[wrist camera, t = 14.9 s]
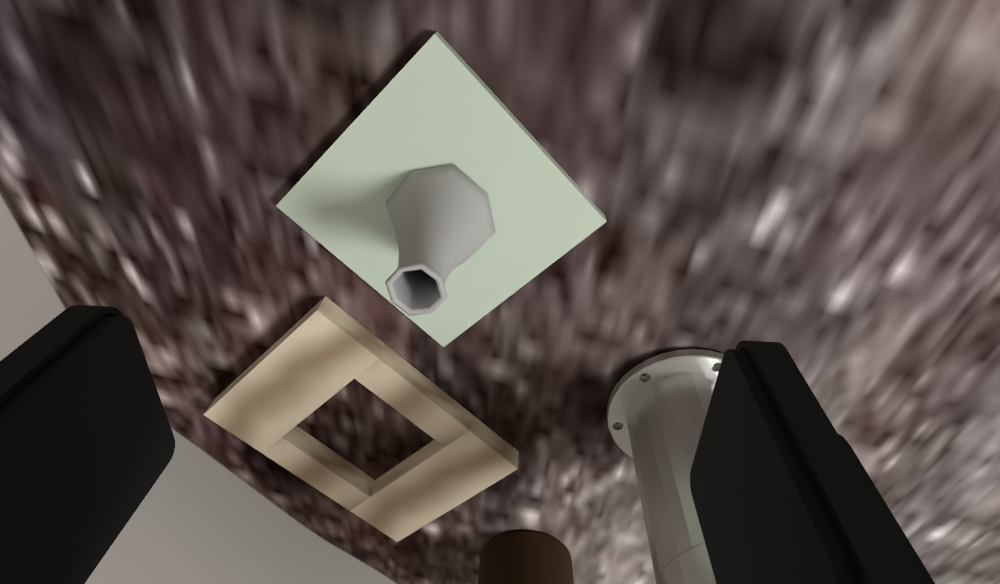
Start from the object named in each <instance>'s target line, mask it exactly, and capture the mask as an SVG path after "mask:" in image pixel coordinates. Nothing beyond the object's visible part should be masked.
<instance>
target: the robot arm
mask: <svg viewBox="0 0 1000 584" xmlns="http://www.w3.org/2000/svg"><path fill="white" fill-rule="evenodd" d="M607 422H608V428H609V431H610V433H611V436H612V438H613V440H614V441H615V443H616V444H617V446H618V447H619V448H620V449H621V450H622V451H623V452H624V453H625V454H627V455H628V456H629V457H631V458H633V460H634V465H635V471H636V476H637V482H638V487H639V492H640V498H641V503H642V509H643V514H644V520H645V525H646V531H647V536H648V542H649V547H650V552H651V558H652V563H653V569H654V573H655V580H656V584H935V583H934V581H933V580H932V578H931V576H930V575H929V573H928V571H927V570H926V568H925V567H924V565H923V563H922V562H921V560H920V558H919V557H918V555H917V554H916V552H915V550H914V549H913V547H912V545H911V544H910V542H909V541H908V539H907V537H906V536H905V534H904V532H903V531H902V529H901V527H900V526H899V524H898V523H897V521H896V519H895V518H894V516H893V514H892V513H891V511H890V510H889V508H888V506H887V505H886V503H885V501H884V500H883V498H882V497H881V495H880V493H879V492H878V490H877V488H876V487H875V485H874V484H873V482H872V480H871V479H870V477H869V475H868V474H867V472H866V471H865V469H864V467H863V466H862V464H861V462H860V461H859V459H858V458H857V456H856V454H855V453H854V451H853V449H852V448H851V446H850V445H849V444H848V442H847V441H846V440H845V439H844V437H843V436H841V435H839V434H837V432H836V430H835V429H834V427H833V426H832V424H831V422H830V421H829V419H828V417H827V416H826V414H825V412H824V411H823V409H822V407H821V406H820V404H819V402H818V401H817V399H816V397H815V396H814V394H813V392H812V391H811V389H810V387H809V386H808V384H807V382H806V381H805V379H804V377H803V376H802V374H801V373H800V371H799V369H798V368H797V366H796V364H795V363H794V361H793V359H792V358H791V356H790V354H789V353H788V351H787V349H786V348H785V347H784V345H783V344H781V343H778V342H761V341H741V342H739V343H738V345H737V346H736V349H735V350H734V349H728V350H726V351H725V353H724V354H723V353H719V352H714V351H710V350H701V349H685V350H675V351H671V352H666V353H662V354H659V355H657V356H654V357H652V358H649V359H647V360H645V361H643V362H641V363H640V364H638V365H636V366H634V367H633V368H632V369H631V370H630V371H628V372H627V373H626V374H625V375H624V376H623V377H622V378H621V379H620V380H619V382H618V383H617V384H616V385H615V387H614V389H613V391H612V393H611V394H610V397H609V401H608V404H607ZM174 448H175V439H174V436H173V433H172V430H171V427H170V425H169V422H168V419H167V416H166V414H165V411H164V408H163V405H162V403H161V400H160V397H159V394H158V392H157V389H156V386H155V383H154V381H153V378H152V375H151V373H150V370H149V367H148V364H147V362H146V359H145V356H144V353H143V351H142V348H141V345H140V342H139V340H138V337H137V334H136V331H135V329H134V326H133V324H132V322H131V320H129V319H128V318H127V317H124V316H123V314H122V313H121V312H120V311H119V310H118V309H117V308H114V307H107V306H88V305H75V306H71V307H69V308H67V309H66V310H64V311H63V312H62V313H61V314H59V315H58V316H57V317H56V318H54V319H53V320H52V321H51V322H49V323H48V324H47V325H46V326H44V327H43V328H42V329H41V330H39V331H38V332H37V333H35V334H34V335H33V336H32V337H30V338H29V339H28V340H27V341H25V342H24V343H23V344H22V345H20V346H19V347H18V348H17V349H15V350H14V351H13V352H11V353H10V354H9V355H8V356H7V357H5V358H4V359H3V360H1V361H0V584H84V583H85V582H86V580H87V579H88V577H89V576H90V575H91V573H92V572H93V571H94V569H95V568H96V566H97V565H98V563H99V562H100V561H101V559H102V558H103V556H104V555H105V553H106V552H107V551H108V549H109V548H110V546H111V545H112V543H113V542H114V540H115V539H116V538H117V536H118V535H119V533H120V532H121V531H122V529H123V528H124V526H125V525H126V523H127V522H128V521H129V519H130V518H131V516H132V515H133V513H134V512H135V511H136V509H137V508H138V506H139V505H140V503H141V502H142V500H143V499H144V497H145V496H146V495H147V493H148V492H149V490H150V489H151V488H152V486H153V485H154V483H155V482H156V480H157V479H158V477H159V476H160V475H161V473H162V472H163V470H164V469H165V468H166V466H167V464H168V463H169V461H170V460H171V458H172V456H173V453H174Z"/></svg>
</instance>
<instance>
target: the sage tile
mask: <svg viewBox="0 0 1000 584" xmlns="http://www.w3.org/2000/svg"><path fill="white" fill-rule="evenodd" d="M454 164H455V165H456V166H457V167H458V168H459V169H460V170H461V171H463V172H464V173H465V174H466V175H467V176H468V177H469V178H471V179H472V180H473V181H474V182H475V183H476V184H477V185H479V186H480V187H481V188H482V189H483V190H484V191H485V192H487V193H488V198H489V203H490V207H491V212H492V217H493V221H494V226H495V231H496V232H495V233H494V234H493V235H492V236H491V237H490V238H489V239H488V240H487V241H486V242H485V243H484V244H483V245H482V246H481V247H480V248H479V249H478V250H477V251H476V252H475V253H474V254H473V255H472V256H471V257H470V258H469V259H468V260H466V261H465V262H464V263H462V264H461V265H459V266H458V267H456V268H455V269H453V270H452V271H451V273H450V274H449V276H448V277H447V279H446V282H445V289H446V293H447V299H446V300H445V301H444V302H443V303H442V304H441V305H440V306H439V307H438V308H437V309H436V310H435V311H434V312H433V313H429V314H421V315H413V316H409V315H408V314H407V313H405V312H404V311H403V310H401V309H400V308H399V307H397V306H396V305H395V304H393V303H392V302H391V299H390V296H389V293H388V290H387V287H386V284H385V282H386V280H387V279H388V278H389V277H390V276H391V275H392V274H393V272H394V271H395V270H396V269H397V267H398V258H399V248H398V244H397V240H396V236H395V231H394V227H393V224H392V221H391V218H390V214H389V211H388V208H387V204H386V200H387V199H388V198H389V197H390V196H391V195H392V194H393V192H394V191H395V190H396V189H397V188H398V187H399V186H400V184H401V183H402V182H403V181H404V180H405V179H406V178H407V177H408V175H409V174H410V173H411V172H412V171H418V170H424V169H430V168H436V167H442V166H448V165H454ZM276 206H277V207H278V208H279V209H280V210H281V211H283V212H284V213H285V214H286V215H287V216H288V217H290V218H291V219H292V220H293V221H294V222H296V223H297V224H298V225H299V226H300V227H302V228H303V229H304V230H305V231H306V232H307V233H309V234H310V235H311V236H312V237H313V238H315V239H316V240H317V241H318V242H319V243H320V244H322V245H323V246H324V247H325V248H326V249H328V250H329V251H330V252H331V253H332V254H334V255H335V256H336V257H337V258H338V259H339V260H341V261H342V262H343V263H344V264H345V265H347V266H348V267H349V268H350V269H351V270H353V271H354V272H355V273H356V274H357V275H358V276H360V277H361V278H362V279H363V280H364V281H366V282H367V283H368V284H369V285H370V286H372V287H373V288H374V289H375V290H376V291H377V292H379V293H380V294H381V295H382V296H383V297H385V298H386V299H387V300H388V301H389V302H391V303H392V304H393V305H394V306H395V307H396V308H398V309H399V310H400V311H401V312H402V313H404V314H405V315H406V316H407V317H408V318H409V319H411V320H412V321H413V322H414V323H415V324H417V325H418V326H419V327H420V328H421V329H423V330H424V331H425V332H426V333H427V334H428V335H430V336H431V337H432V338H433V339H434V340H436V341H437V342H438V343H439V344H440V345H442V346H443V347H445V346H446V345H447V344H448V343H450V342H451V341H452V340H454V339H455V338H456V337H458V336H459V335H460V334H461V333H463V332H464V331H465V330H467V329H468V328H469V327H470V326H472V325H473V324H474V323H476V322H477V321H478V320H480V319H481V318H482V317H483V316H485V315H486V314H487V313H489V312H490V311H491V310H493V309H494V308H495V307H496V306H498V305H499V304H500V303H502V302H503V301H504V300H506V299H507V298H508V297H509V296H511V295H512V294H513V293H515V292H516V291H517V290H519V289H520V288H521V287H522V286H524V285H525V284H526V283H528V282H529V281H530V280H532V279H533V278H534V277H535V276H537V275H538V274H539V273H541V272H542V271H543V270H544V269H546V268H547V267H548V266H550V265H551V264H552V263H554V262H555V261H556V260H557V259H559V258H560V257H561V256H563V255H564V254H565V253H567V252H568V251H569V250H570V249H572V248H573V247H574V246H576V245H577V244H578V243H580V242H581V241H582V240H583V239H585V238H586V237H587V236H589V235H590V234H591V233H593V232H594V231H595V230H596V229H598V228H599V227H600V226H602V225H603V224H604V223H605V222H607V221H606V217H605V215H604V214H603V213H602V212H601V211H600V209H599V208H598V207H597V206H596V205H595V204H594V203H593V202H592V201H591V200H590V198H589V197H588V196H587V195H586V194H585V193H584V192H583V191H582V190H581V189H580V187H579V186H578V185H577V184H576V183H575V182H574V181H573V180H572V179H571V178H570V177H569V175H568V174H567V173H566V172H565V171H564V170H563V169H562V168H561V167H560V166H559V164H558V163H557V162H556V161H555V160H554V159H553V158H552V157H551V156H550V155H549V153H548V152H547V151H546V150H545V149H544V148H543V147H542V146H541V145H540V144H539V143H538V141H537V140H536V139H535V138H534V137H533V136H532V135H531V134H530V133H529V132H528V130H527V129H526V128H525V127H524V126H523V125H522V124H521V123H520V122H519V121H518V119H517V118H516V117H515V116H514V115H513V114H512V113H511V112H510V111H509V110H508V108H507V107H506V106H505V105H504V104H503V103H502V102H501V101H500V100H499V99H498V98H497V96H496V95H495V94H494V93H493V92H492V91H491V90H490V89H489V88H488V87H487V85H486V84H485V83H484V82H483V81H482V80H481V79H480V78H479V77H478V76H477V74H476V73H475V72H474V71H473V70H472V69H471V68H470V67H469V66H468V65H467V64H466V62H465V61H464V60H463V59H462V58H461V57H460V56H459V55H458V54H457V53H456V51H455V50H454V49H453V48H452V47H451V46H450V45H449V44H448V43H447V42H446V40H445V39H444V38H443V37H442V36H441V35H440V34H439V33H438V32H436V33H435V34H434V35H433V36H432V37H431V38H430V39H429V40H428V41H427V42H426V44H425V45H424V46H423V47H422V48H421V49H420V50H419V51H418V52H417V53H416V54H415V55H414V57H413V58H412V59H411V60H410V61H409V62H408V63H407V64H406V65H405V66H404V67H403V69H402V70H401V71H400V72H399V73H398V74H397V75H396V76H395V77H394V78H393V79H392V80H391V82H390V83H389V84H388V85H387V86H386V87H385V88H384V89H383V90H382V91H381V92H380V93H379V95H378V96H377V97H376V98H375V99H374V100H373V101H372V102H371V103H370V104H369V105H368V107H367V108H366V109H365V110H364V111H363V112H362V113H361V114H360V115H359V116H358V117H357V118H356V120H355V121H354V122H353V123H352V124H351V125H350V126H349V127H348V128H347V129H346V130H345V131H344V133H343V134H342V135H341V136H340V137H339V138H338V139H337V140H336V141H335V142H334V143H333V145H332V146H331V147H330V148H329V149H328V150H327V151H326V152H325V153H324V154H323V155H322V156H321V158H320V159H319V160H318V161H317V162H316V163H315V164H314V165H313V166H312V167H311V168H310V169H309V171H308V172H307V173H306V174H305V175H304V176H303V177H302V178H301V179H300V180H299V181H298V183H297V184H296V185H295V186H294V187H293V188H292V189H291V190H290V191H289V192H288V193H287V194H286V196H285V197H284V198H283V199H282V200H281V201H280V202H279V203H278V204H277V205H276Z"/></svg>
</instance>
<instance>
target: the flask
mask: <svg viewBox="0 0 1000 584" xmlns="http://www.w3.org/2000/svg"><path fill="white" fill-rule="evenodd" d="M386 204H387V208H388V211H389V214H390V218H391V221H392V224H393V227H394V231H395V236H396V240H397V244H398V248H399V258H398V267H397V269H396V270H395V271H394V272H393V274H392V275H391V276H390V277H389V278H388V279H387V280H386V282H385V284H386V287H387V290H388V293H389V296H390V299H391V302H392V303H393V304H395V305H396V306H397V307H399V308H400V309H401V310H403V311H404V312H405V313H407V314H408V315H409V316H413V315H421V314H429V313H433V312H434V311H435V310H436V309H437V308H438V307H439V306H440V305H441V304H442V303H443V302H444V301H445V300H446V299H447V293H446V289H445V282H446V279H447V277H448V276H449V274H450V273H451V271H452V270H453V269H455V268H456V267H458V266H459V265H461V264H462V263H464V262H465V261H466V260H468V259H469V258H470V257H471V256H472V255H473V254H474V253H475V252H476V251H477V250H478V249H479V248H480V247H481V246H482V245H483V244H484V243H485V242H486V241H487V240H488V239H489V238H490V237H491V236H492V235H493V234H494V233H495V232H496V231H495V226H494V221H493V217H492V212H491V207H490V203H489V198H488V193H487V192H485V191H484V190H483V189H482V188H481V187H480V186H479V185H477V184H476V183H475V182H474V181H473V180H472V179H471V178H469V177H468V176H467V175H466V174H465V173H464V172H463V171H461V170H460V169H459V168H458V167H457V166H456V165H455V164H454V165H448V166H442V167H436V168H430V169H424V170H418V171H412V172H411V173H410V174H409V175H408V177H407V178H406V179H405V180H404V181H403V182H402V183H401V184H400V186H399V187H398V188H397V189H396V190H395V191H394V192H393V194H392V195H391V196H390V197H389V198H388V199H387V200H386Z"/></svg>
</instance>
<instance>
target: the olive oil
mask: <svg viewBox="0 0 1000 584" xmlns="http://www.w3.org/2000/svg"><path fill="white" fill-rule="evenodd" d="M478 584H574V581H573V570H572V560H571V555H570V553H569V551H568V549H567V548H566V547H565V545H564V544H562V543H561V542H560V541H559V540H557V539H555V538H554V537H552V536H549V535H547V534H544V533H540V532H535V531H513V532H508V533H505V534H502V535H499V536H497V537H495V538H494V539H492V540H491V541H490V542H488V543H487V544H486V546H485V547H484V549H483V551H482V554H481V560H480V568H479V576H478Z"/></svg>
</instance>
